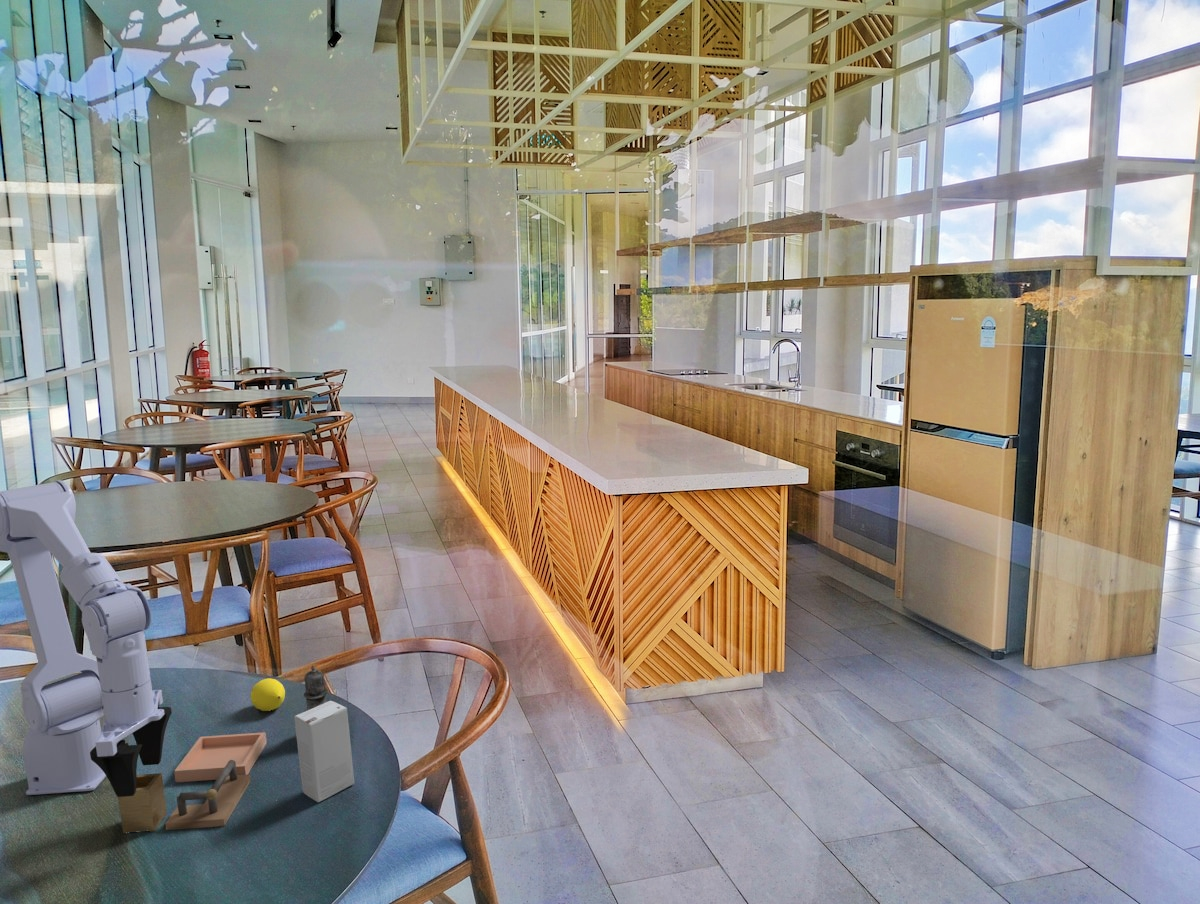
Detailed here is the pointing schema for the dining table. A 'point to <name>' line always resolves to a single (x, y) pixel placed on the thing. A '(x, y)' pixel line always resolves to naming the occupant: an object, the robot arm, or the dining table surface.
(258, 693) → the lemon
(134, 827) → the hollow wooden box
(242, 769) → the dish
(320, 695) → the dark grey chess piece
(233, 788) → the bent wire
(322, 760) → the skincare box
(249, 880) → the dining table surface
